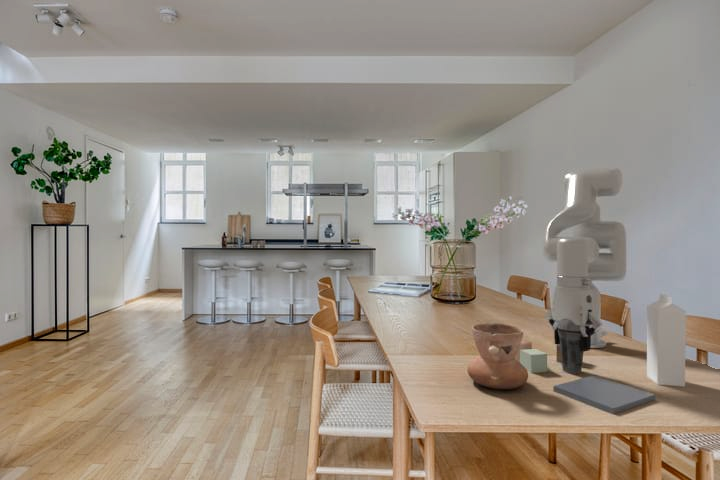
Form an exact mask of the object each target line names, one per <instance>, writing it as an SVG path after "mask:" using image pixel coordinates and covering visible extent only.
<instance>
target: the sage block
mask: <svg viewBox="0 0 720 480" xmlns="http://www.w3.org/2000/svg"><path fill="white" fill-rule="evenodd" d="M520 364H522V365H523V366H524V367H525V368H526V370H527V372H529V373H530V374H534V373H545V372H546V373H547V372H548V353H546V352H544V351H542V350H540V349H537V348H532V349H525V350H520Z"/></svg>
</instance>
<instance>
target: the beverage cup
mask: <svg viewBox="0 0 720 480" xmlns="http://www.w3.org/2000/svg"><path fill="white" fill-rule="evenodd" d="M557 329H558V334H559V338H560V349H561V360H562V363H561V367H562V371H563V372H564V373H568V374H572V375H578V374H579V375H580V374H581V373H582V367H583V360H584V352H583V351H581V350H580V337H581V336H583V335H582V333H581V330H580V328H579V326H577V325H575V324H574V323H573V322H572V321H571V320H569V319H566V318H564V319H561V320H560V321H559V323H558V327H557Z"/></svg>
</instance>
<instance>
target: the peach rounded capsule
mask: <svg viewBox="0 0 720 480" xmlns="http://www.w3.org/2000/svg"><path fill="white" fill-rule="evenodd" d="M525 349H533V342H531V341H529V340H526V339H522V341H521V344H520V346H519V349H518V351H517V353H516V355H515V357H514V358H515V359H516V360H517V361H518V362H519V363H520V350H525Z"/></svg>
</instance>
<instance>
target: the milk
mask: <svg viewBox="0 0 720 480" xmlns="http://www.w3.org/2000/svg"><path fill="white" fill-rule="evenodd" d="M646 311H647V312H646V320H647V321H646V325H647V326H646V328H647V329H646V377H647V378H648V379H649V380H651V381H652V382H654V383H655V384H656V385H658V386H673V387H681V388H682V387H683V388H684V387H686V325H687V324H686V323H687V322H686V321H687V320H686V317H687V316H686V315H687V313H686V310H685V309H683V308H681V307H680V306H677V305H676V304H673V298H672V297H671V296H668V295H664V294H661V293H660V294H659V300H657V301H655V302H653V303H651V304H648V305H647V307H646Z"/></svg>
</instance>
